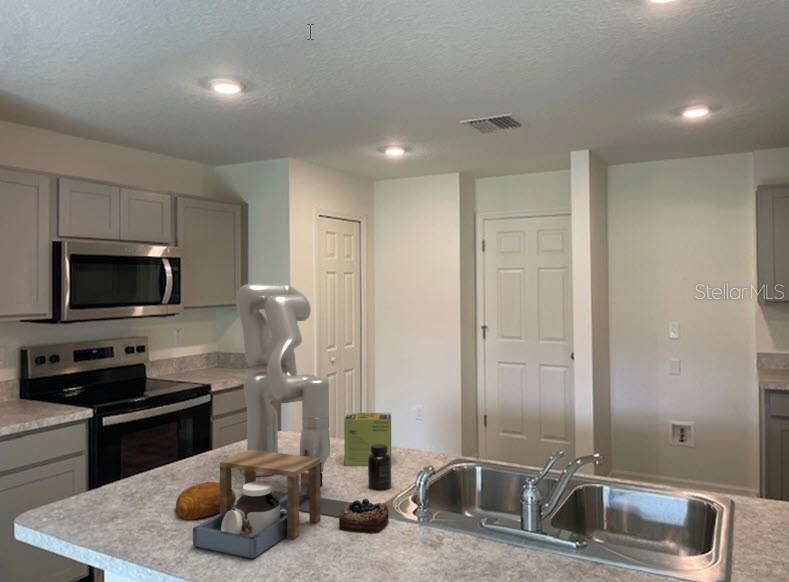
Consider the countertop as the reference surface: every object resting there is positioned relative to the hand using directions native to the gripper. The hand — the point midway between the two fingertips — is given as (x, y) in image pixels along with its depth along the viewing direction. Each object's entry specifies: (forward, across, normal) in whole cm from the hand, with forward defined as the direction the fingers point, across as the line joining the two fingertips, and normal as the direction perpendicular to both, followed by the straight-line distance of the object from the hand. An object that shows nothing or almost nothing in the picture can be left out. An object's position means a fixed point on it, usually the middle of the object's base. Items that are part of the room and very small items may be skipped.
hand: (316, 486), depth 168 cm
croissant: (+3, +20, -22) cm, 30 cm away
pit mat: (+2, +8, +1) cm, 8 cm away
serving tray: (+2, +22, 0) cm, 22 cm away
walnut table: (+2, +22, 0) cm, 22 cm away
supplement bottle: (+2, -13, +14) cm, 19 cm away
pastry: (+3, +14, +21) cm, 26 cm away
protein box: (+2, -35, 0) cm, 35 cm away
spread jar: (+2, +31, 0) cm, 31 cm away
